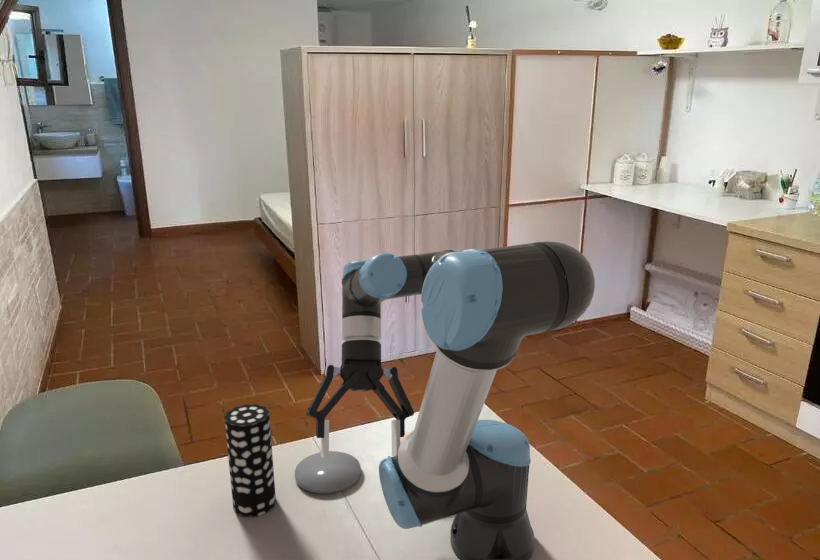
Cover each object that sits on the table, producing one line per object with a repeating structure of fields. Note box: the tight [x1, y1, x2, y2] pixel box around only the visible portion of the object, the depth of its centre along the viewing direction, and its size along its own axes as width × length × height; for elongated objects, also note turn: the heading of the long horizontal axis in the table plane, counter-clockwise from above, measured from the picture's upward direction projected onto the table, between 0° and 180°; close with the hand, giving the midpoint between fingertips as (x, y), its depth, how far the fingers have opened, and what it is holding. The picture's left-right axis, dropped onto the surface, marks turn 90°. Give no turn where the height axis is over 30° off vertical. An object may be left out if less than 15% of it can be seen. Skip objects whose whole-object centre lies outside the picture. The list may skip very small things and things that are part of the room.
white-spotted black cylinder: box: [224, 403, 277, 518], centre depth 123 cm, size 8×8×20 cm
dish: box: [294, 450, 362, 494], centre depth 135 cm, size 14×14×2 cm
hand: (361, 456), depth 115 cm, fingers open, 13 cm apart
